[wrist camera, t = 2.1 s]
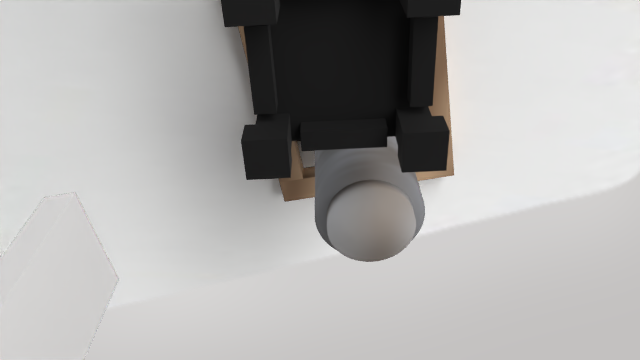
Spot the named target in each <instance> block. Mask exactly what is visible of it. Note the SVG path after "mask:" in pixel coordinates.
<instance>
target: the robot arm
mask: <svg viewBox="0 0 640 360" xmlns="http://www.w3.org/2000/svg"><path fill="white" fill-rule="evenodd" d="M118 280H119V278H118V276H117V274H116V272H115V270H114V268H113V266H112V264H111V262H110V260H109V258H108V256H107V254H106V252H105V250H104V248H103V246H102V244H101V242H100V240H99V238H98V236H97V234H96V232H95V230H94V228H93V226H92V224H91V222H90V220H89V218H88V217H87V215H86V213H85V211H84V209H83V207H82V205H81V203H80V201H79V199H78V197H77V195H76V193H75V192H73V193H67V194H61V195H55V196H48V197H44V198H43V200H42V201H41V203H40V204H39V205H38V207H37V208H36V209H35V211H34V212H33V214H32V215H31V216H30V218H29V219H28V221H27V222H26V223H25V225H24V226H23V227H22V229H21V230H20V232H19V233H18V234H17V236H16V237H15V239H14V240H13V241H12V243H11V244H10V245H9V247H8V248H7V250H6V251H5V252H4V254H3V255H2V257H1V258H0V360H84V359H85V357H86V354H87V352H88V350H89V348H90V345H91V343H92V341H93V338H94V336H95V334H96V331H97V329H98V327H99V324H100V322H101V320H102V317H103V315H104V313H105V311H106V308H107V306H108V304H109V301H110V299H111V297H112V294H113V292H114V290H115V287H116V285H117V283H118Z"/></svg>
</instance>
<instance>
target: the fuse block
mask: <svg viewBox="0 0 640 360" xmlns="http://www.w3.org/2000/svg"><path fill="white" fill-rule="evenodd" d="M238 29H239V32H240V36H241V40H242V43H243V47H244V51H245V55H246V58H247V51H246V43H245V35H244V26H238ZM247 62H248V59H247ZM428 107H429V110H430V112H431V115H432V116H444V119H445V121H446V123H447V126H448V128H449V130H450V135H449V147H448V158H447V170H446V171H428V172H406V173H402V171H401V167H400V163H399V159H398V145H397V141H396V137H395V136H393V137H387V147H378V148H357V149H335V150H315V166H314V167H308V168H303V165H302V160H301V156H300V152H299V148H298V143H297V141H292V146H291V156H292V167H291V178H279V182H280V186H281V190H282V193H283V197H284V201H285V202H286V201H292V200H299V199H305V198H312V197H315V222H316V226H317V229H318V231H319V233H320V235H321V236H322V238H323V239H324V240H325V241H326V242H327V243H328V244H329V245H330V246H331V247H332V248H334V249H336V250H337V251H339V252H340V253H341V254H343V255H344V256H346V257H349V258H351V259H354V260H358V261H366V262H373V261H380V260H384V259H387V258H390V257H393V256H394V255H396V254H398V253H399V252H401V251H402V250H403V249H404V248H406V246H407V245H408V244H409V243H410V242H411V241H412V240H413V238H414V237H415V236H416V235H417V233H418V232H419V230H420V228H421V226H422V224H423V221H424V216H425V206H424V201H423V198H422V194H421V191H420V187H419V183H418V181H420V180H426V179H433V178H439V177H446V176H452V175H454V167H453V151H452V136H451V120H450V105H449V90H448V74H447V59H446V43H445V28H444V16H438V32H437V48H436V63H435V78H434V94H433V106H428Z"/></svg>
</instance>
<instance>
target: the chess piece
mask: <svg viewBox="0 0 640 360" xmlns="http://www.w3.org/2000/svg"><path fill="white" fill-rule="evenodd" d="M221 4H222V11H223V18H224V25H225V27H235V26H244V35H245V43H246V51H247V59H248V67H249V75H250V83H251V91H252V99H253V107H254V115H257V114H258V115H257V120H256V125H245V126H244V131H243V135H242V139H241V144H242V151H243V158H244V165H245V172H246V179H247V180H253V179H275V178H291V167H292V156H291V146H292V141H301V148H302V151H314V150H335V149H357V148H378V147H387V137H393V136H395V137H396V141H397V145H398V159H399V163H400V167H401V171H402V173H406V172H428V171H446V170H447V158H448V147H449V135H450V130H449V128H448V126H447V123H446V121H445V119H444V116H432V115H431V112H430V110H429V107H428V106H433V94H434V78H435V63H436V48H437V32H438V16H450V15H460V6H461V0H221Z"/></svg>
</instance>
